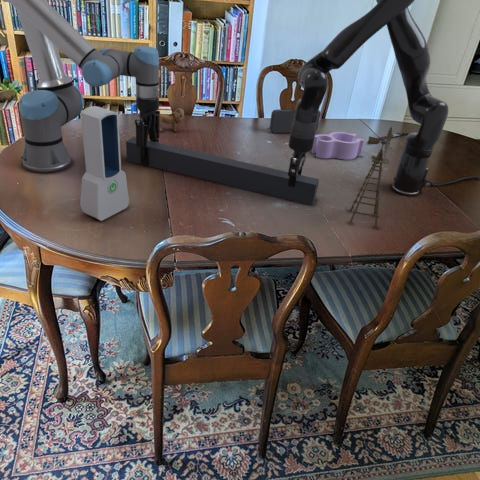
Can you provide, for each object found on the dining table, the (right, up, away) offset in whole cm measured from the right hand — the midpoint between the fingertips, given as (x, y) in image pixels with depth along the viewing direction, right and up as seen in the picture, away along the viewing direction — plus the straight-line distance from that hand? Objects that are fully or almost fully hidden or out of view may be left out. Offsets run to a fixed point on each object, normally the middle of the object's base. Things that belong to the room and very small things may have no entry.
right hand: (294, 181), depth 153 cm
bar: (-26, +2, +9) cm, 27 cm away
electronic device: (-57, -11, -15) cm, 60 cm away
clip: (+21, +16, +39) cm, 48 cm away
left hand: (-51, +9, +15) cm, 54 cm away
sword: (+51, +27, +61) cm, 84 cm away
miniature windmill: (+21, -13, -5) cm, 25 cm away
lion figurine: (-48, +27, +45) cm, 72 cm away
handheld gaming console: (+6, +29, +57) cm, 65 cm away
